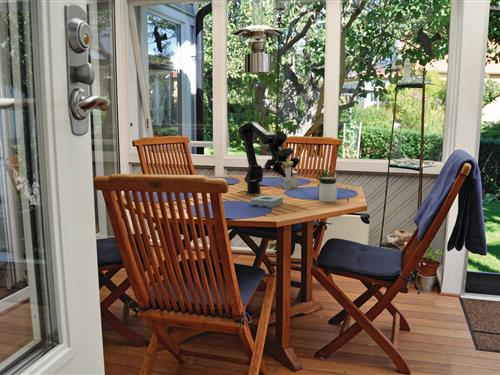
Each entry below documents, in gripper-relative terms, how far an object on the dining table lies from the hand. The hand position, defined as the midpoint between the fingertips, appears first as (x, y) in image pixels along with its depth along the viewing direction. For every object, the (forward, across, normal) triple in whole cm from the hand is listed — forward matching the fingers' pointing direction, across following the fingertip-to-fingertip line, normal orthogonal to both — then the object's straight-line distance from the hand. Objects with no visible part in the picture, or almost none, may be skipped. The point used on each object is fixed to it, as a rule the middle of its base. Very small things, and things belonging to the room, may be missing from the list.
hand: (288, 176), depth 241 cm
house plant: (+6, +26, +13) cm, 30 cm away
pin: (+4, 0, +6) cm, 7 cm away
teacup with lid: (-19, +28, +38) cm, 51 cm away
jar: (+15, +20, +4) cm, 25 cm away
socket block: (+8, -12, +11) cm, 18 cm away
